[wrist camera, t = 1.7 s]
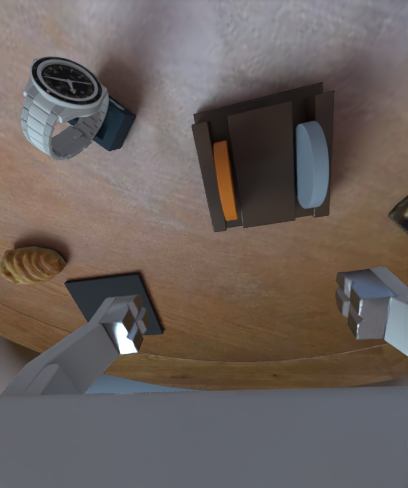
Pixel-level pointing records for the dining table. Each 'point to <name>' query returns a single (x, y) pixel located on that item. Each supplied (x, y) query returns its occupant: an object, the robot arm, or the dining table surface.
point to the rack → (262, 154)
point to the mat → (112, 295)
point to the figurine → (401, 215)
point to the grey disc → (310, 164)
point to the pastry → (31, 265)
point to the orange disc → (225, 180)
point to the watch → (71, 109)
